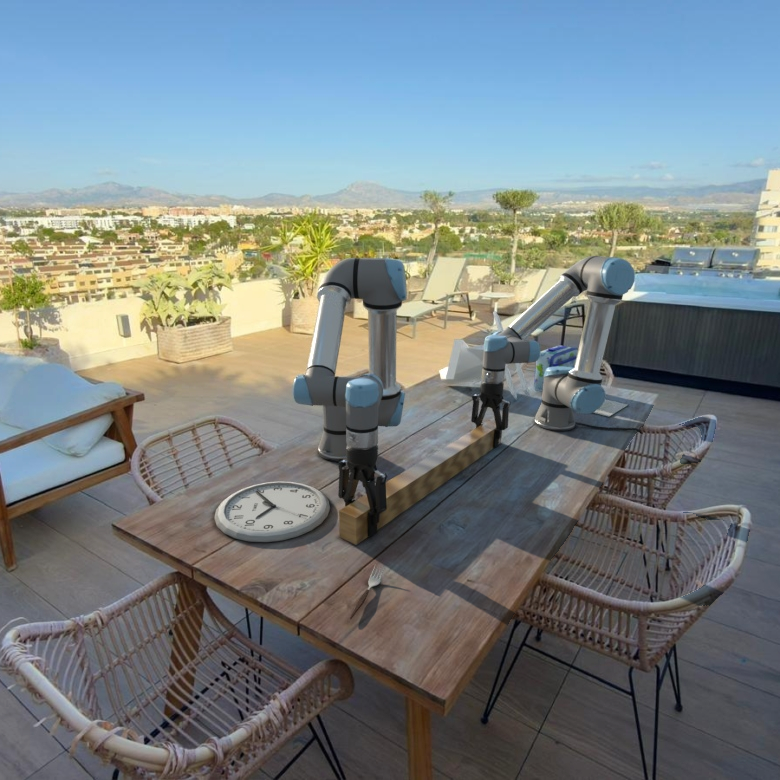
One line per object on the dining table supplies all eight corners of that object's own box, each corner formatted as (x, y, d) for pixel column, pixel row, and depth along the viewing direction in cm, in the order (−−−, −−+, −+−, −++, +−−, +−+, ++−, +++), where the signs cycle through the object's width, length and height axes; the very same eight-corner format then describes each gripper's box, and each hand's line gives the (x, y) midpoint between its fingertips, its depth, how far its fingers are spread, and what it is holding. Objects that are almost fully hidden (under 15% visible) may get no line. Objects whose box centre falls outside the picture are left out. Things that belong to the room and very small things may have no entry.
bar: (487, 439, 189) (488, 420, 187) (501, 443, 186) (502, 423, 184) (339, 537, 128) (339, 510, 126) (356, 545, 125) (356, 517, 123)
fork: (344, 619, 101) (343, 610, 101) (374, 571, 116) (374, 563, 115) (356, 623, 100) (356, 614, 100) (385, 574, 115) (385, 566, 114)
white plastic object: (461, 429, 252) (437, 405, 227) (444, 352, 274) (420, 323, 250) (535, 404, 240) (518, 377, 215) (510, 326, 262) (492, 293, 237)
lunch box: (550, 398, 235) (555, 353, 229) (529, 393, 243) (534, 349, 236) (577, 387, 253) (583, 345, 247) (557, 382, 260) (562, 341, 254)
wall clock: (328, 534, 126) (200, 538, 124) (328, 540, 127) (201, 544, 124) (331, 477, 155) (227, 479, 152) (331, 482, 155) (227, 484, 153)
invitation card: (608, 416, 214) (573, 407, 224) (608, 416, 214) (573, 408, 224) (628, 404, 229) (594, 396, 238) (628, 405, 229) (594, 397, 238)
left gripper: (321, 439, 126) (323, 523, 133) (384, 460, 115) (383, 550, 122) (342, 430, 132) (343, 511, 139) (404, 449, 121) (401, 536, 128)
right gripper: (463, 378, 179) (459, 441, 186) (513, 388, 169) (507, 454, 176) (473, 374, 185) (469, 435, 192) (522, 383, 174) (516, 447, 181)
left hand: (361, 529), depth 131 cm, fingers open, 6 cm apart
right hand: (487, 444), depth 184 cm, fingers closed on bar, 5 cm apart
